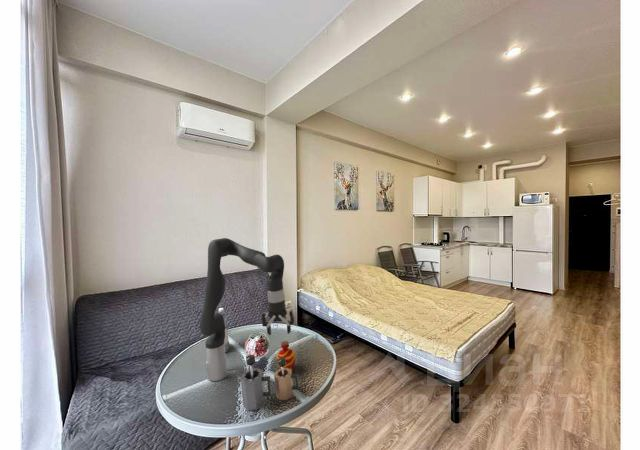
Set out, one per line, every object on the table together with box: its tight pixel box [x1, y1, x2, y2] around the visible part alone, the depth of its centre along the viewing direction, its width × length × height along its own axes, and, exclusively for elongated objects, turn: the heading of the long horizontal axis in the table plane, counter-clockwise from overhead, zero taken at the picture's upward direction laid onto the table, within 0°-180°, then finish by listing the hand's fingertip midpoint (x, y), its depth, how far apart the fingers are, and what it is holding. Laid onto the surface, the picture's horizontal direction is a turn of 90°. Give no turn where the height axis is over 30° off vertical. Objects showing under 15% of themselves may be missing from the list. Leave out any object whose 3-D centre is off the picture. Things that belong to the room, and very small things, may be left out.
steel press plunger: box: [245, 354, 256, 379], centre depth 114 cm, size 4×4×19 cm
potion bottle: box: [276, 340, 296, 372], centre depth 136 cm, size 10×10×15 cm
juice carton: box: [215, 307, 230, 353], centre depth 162 cm, size 9×10×27 cm
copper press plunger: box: [277, 357, 286, 376], centre depth 118 cm, size 3×3×15 cm
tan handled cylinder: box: [273, 368, 300, 401], centre depth 118 cm, size 10×8×10 cm
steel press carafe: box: [240, 367, 273, 412], centre depth 114 cm, size 12×9×13 cm
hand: (279, 333), depth 117 cm, fingers open, 8 cm apart
